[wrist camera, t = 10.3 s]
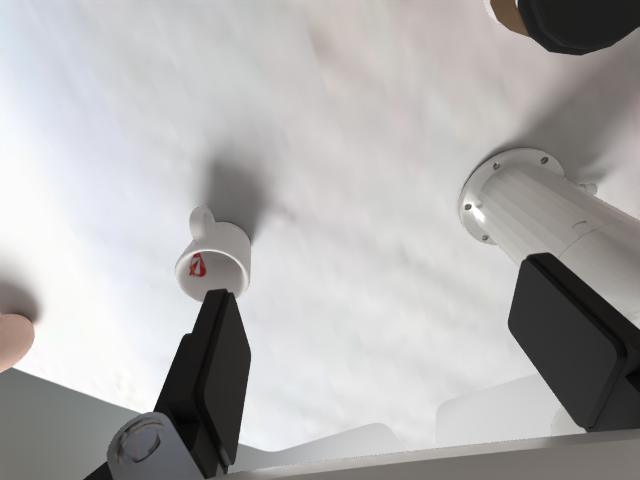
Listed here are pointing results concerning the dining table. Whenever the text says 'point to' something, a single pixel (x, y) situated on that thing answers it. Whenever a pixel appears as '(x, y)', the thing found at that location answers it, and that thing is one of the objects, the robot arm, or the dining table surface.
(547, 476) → the robot arm
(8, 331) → the egg
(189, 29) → the dining table surface
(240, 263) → the cup
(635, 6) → the coffee cup
